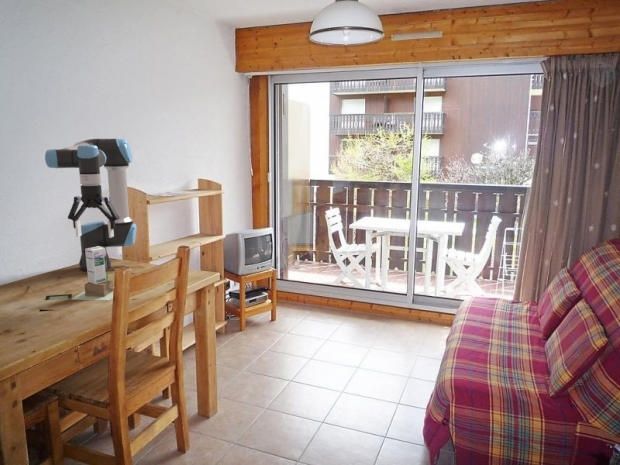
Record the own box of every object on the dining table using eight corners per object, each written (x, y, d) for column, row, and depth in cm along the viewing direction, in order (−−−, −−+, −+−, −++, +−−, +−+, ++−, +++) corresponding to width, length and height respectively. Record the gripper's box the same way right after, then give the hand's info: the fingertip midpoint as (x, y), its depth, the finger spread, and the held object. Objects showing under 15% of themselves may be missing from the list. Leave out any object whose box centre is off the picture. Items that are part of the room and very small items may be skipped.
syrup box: (95, 284, 195) (92, 250, 192) (87, 282, 198) (84, 248, 195) (108, 281, 199) (105, 247, 196) (100, 279, 203) (98, 245, 200)
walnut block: (95, 290, 204) (94, 278, 203) (113, 290, 203) (112, 279, 202) (85, 296, 196) (84, 284, 195) (104, 296, 196) (103, 285, 195)
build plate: (91, 290, 208) (90, 287, 208) (127, 291, 207) (126, 288, 207) (70, 302, 193) (70, 299, 192) (109, 303, 192) (109, 300, 191)
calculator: (39, 312, 183) (38, 304, 182) (47, 302, 194) (46, 295, 193) (66, 310, 185) (65, 302, 185) (72, 300, 196) (71, 293, 196)
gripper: (55, 185, 188) (60, 237, 192) (117, 186, 187) (121, 239, 191) (65, 183, 195) (70, 234, 200) (125, 184, 194) (129, 235, 198)
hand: (95, 236), depth 195 cm, fingers open, 13 cm apart
